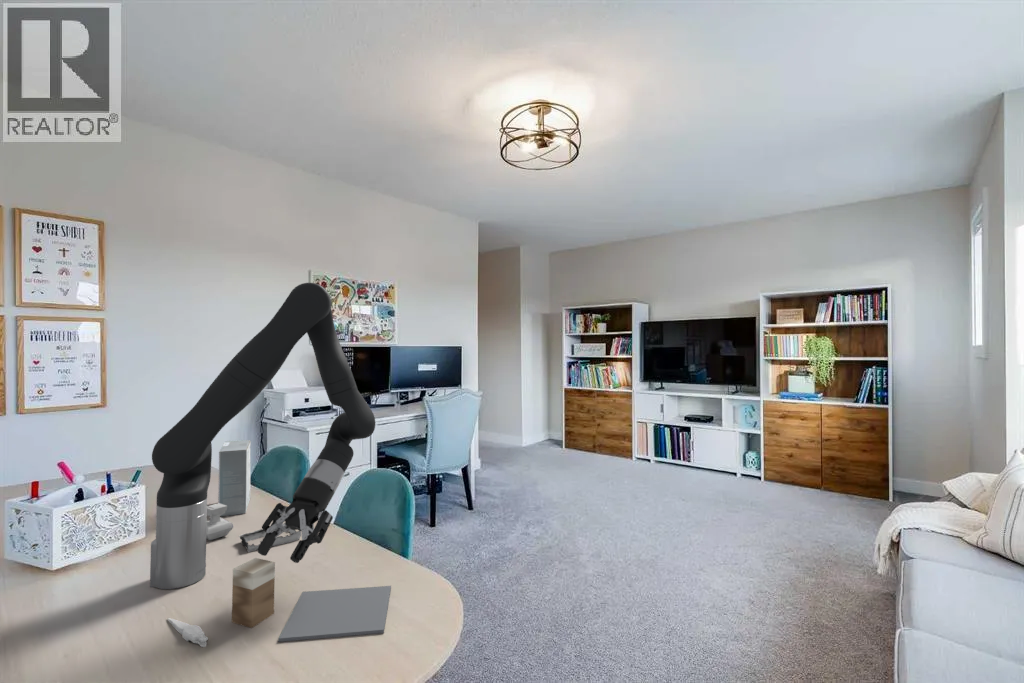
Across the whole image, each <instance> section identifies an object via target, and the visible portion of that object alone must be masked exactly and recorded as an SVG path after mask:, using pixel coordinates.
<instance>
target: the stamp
mask: <svg viewBox="0 0 1024 683" xmlns="http://www.w3.org/2000/svg"><path fill="white" fill-rule="evenodd" d="M226 510H227V506H226V505H223V504H220V503H215V504H211V505H207V517H209V520H207V530H206V540H208V541H212V540H215V539H220V538H222V537H225V536H227V535H228V534H229V533H230V532H231V531H232V530H233V529H234V523H233V522H232V521H229V520H227V519H225V518H223V517H222V516H221V515H223V514H225V511H226ZM220 516H221V517H220Z"/></svg>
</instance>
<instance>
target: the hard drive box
mask: <svg viewBox="0 0 1024 683" xmlns="http://www.w3.org/2000/svg"><path fill="white" fill-rule="evenodd" d="M251 444H252V443H251V440H250V439H243V440H242V439H241V440H229V441H228V440H227V441H224V443H223V445H222V447H221V448H220V449H219V450H218V493H217V494H218V496H217V497H218V498H217V500H218V501H217V502H218V503H220V504H223V505H226V506H227V510H226V511H225V514H223V515H221V517H229V516H235V515H236V516H237V515H243V514H244V513H245V514H246V513H247V510H248V507H249V503H250V499H251ZM218 503H217V504H218ZM245 514H244V515H245Z"/></svg>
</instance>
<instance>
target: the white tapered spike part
mask: <svg viewBox="0 0 1024 683" xmlns="http://www.w3.org/2000/svg"><path fill="white" fill-rule="evenodd" d="M166 620H167V621H168V622H169V624H170V625H171V626H172V627H173V628H174V629H175V630H176V631H177V632H178V633H179V634H180V635H182V639H184V641H186V642H191V643H193V644H197V645H199V646H200V647H201V648H206V647H207V641H208V640H209V637H208V636H206V634H205V631H203V629H202V628H201V626H199V625H197V624H189V623H187V622H184V621H180V620H177V619H175V618H170V617H169V618H166Z"/></svg>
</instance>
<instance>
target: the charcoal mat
mask: <svg viewBox="0 0 1024 683" xmlns="http://www.w3.org/2000/svg"><path fill="white" fill-rule="evenodd" d="M391 591H392V585H384V586H383V585H380V586H365V587H353V588H339V589H337V588H335V589H325V590H308V591H302V592H301V594H300V596H299V598H298V599H297V601H296V604H295V605H294V607H293V609H292V610H291V611H292V612H291V614H290V615H289V617H288V619H287V621H286V623H285V625H284V627H283V628H282V631H281V633H280V635H279V637H278V640H277V641H278V643H280V642H294V641H303V640H305V641H306V640H315V639H328V638H329V639H330V638H339V637H340V638H341V637H352V636H363V635H365V636H366V635H374V634H384V633H385V629H386V628H385V627H386V623H387V621H386V620H387V616H388V611H389V610H388V609H389V602H390V597H391Z"/></svg>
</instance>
